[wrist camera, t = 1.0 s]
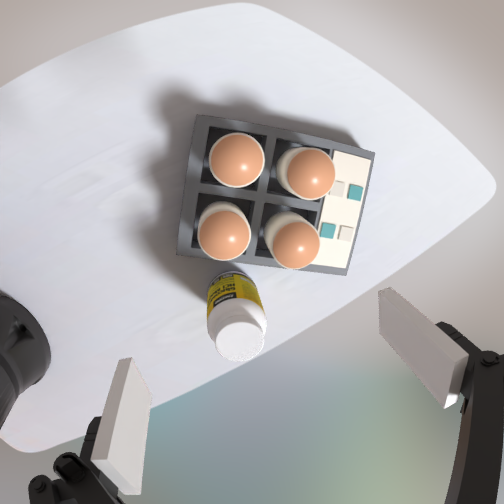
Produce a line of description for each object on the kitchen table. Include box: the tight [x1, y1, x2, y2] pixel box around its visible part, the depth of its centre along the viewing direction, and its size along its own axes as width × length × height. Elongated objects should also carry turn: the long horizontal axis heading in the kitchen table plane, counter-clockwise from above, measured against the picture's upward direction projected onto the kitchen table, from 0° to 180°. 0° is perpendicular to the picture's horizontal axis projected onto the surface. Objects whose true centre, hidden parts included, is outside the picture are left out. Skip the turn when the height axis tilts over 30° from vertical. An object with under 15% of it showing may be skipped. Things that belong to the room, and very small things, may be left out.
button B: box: [209, 133, 265, 188], centre depth 30 cm, size 5×5×5 cm
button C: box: [263, 211, 321, 269], centre depth 33 cm, size 5×5×5 cm
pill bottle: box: [207, 271, 267, 361], centre depth 35 cm, size 6×6×11 cm
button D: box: [276, 147, 336, 200], centre depth 31 cm, size 5×5×5 cm
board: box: [176, 114, 375, 276], centre depth 35 cm, size 20×15×3 cm
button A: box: [197, 201, 251, 261], centre depth 32 cm, size 5×5×5 cm
